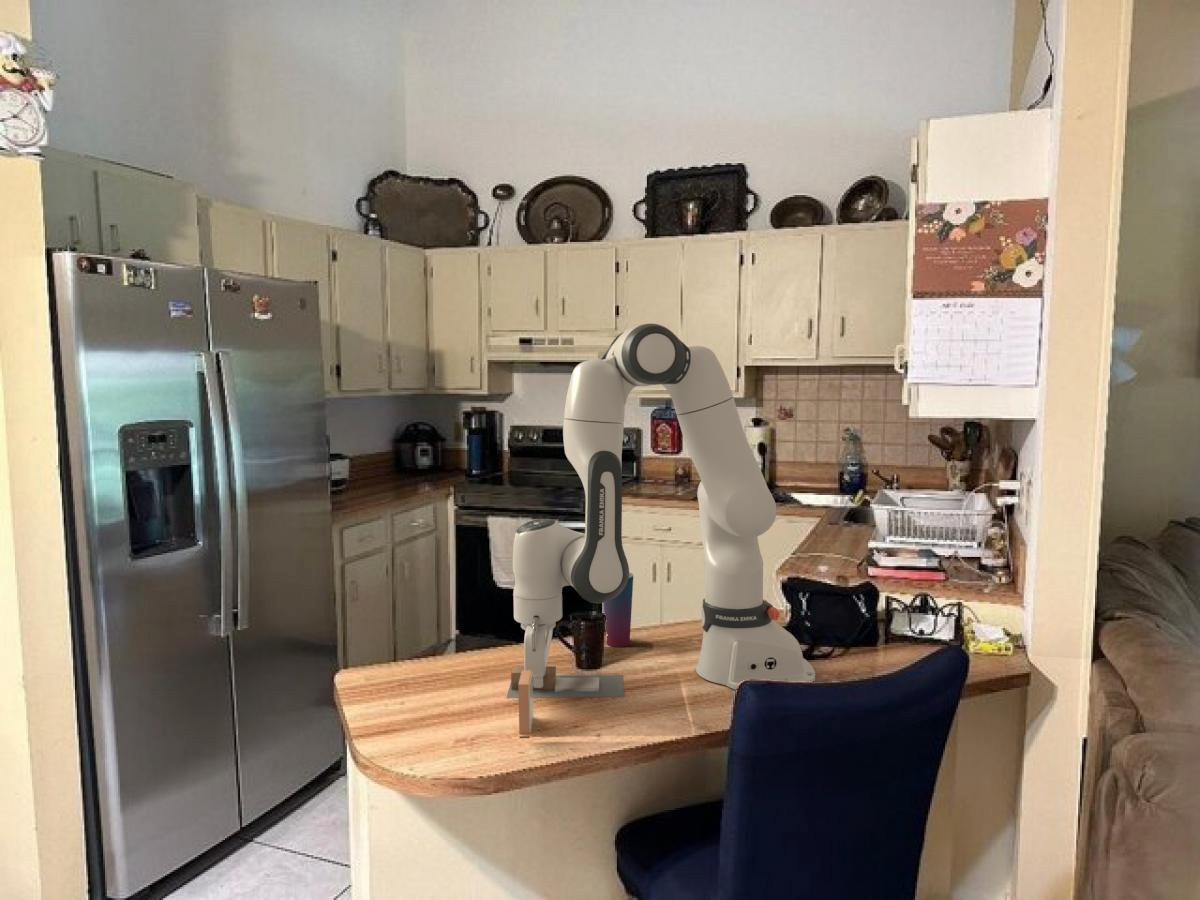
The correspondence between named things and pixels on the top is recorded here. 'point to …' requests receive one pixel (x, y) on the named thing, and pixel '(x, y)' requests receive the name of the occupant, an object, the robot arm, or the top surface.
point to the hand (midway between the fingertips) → (539, 681)
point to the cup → (619, 616)
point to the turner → (557, 681)
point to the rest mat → (607, 688)
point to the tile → (525, 702)
